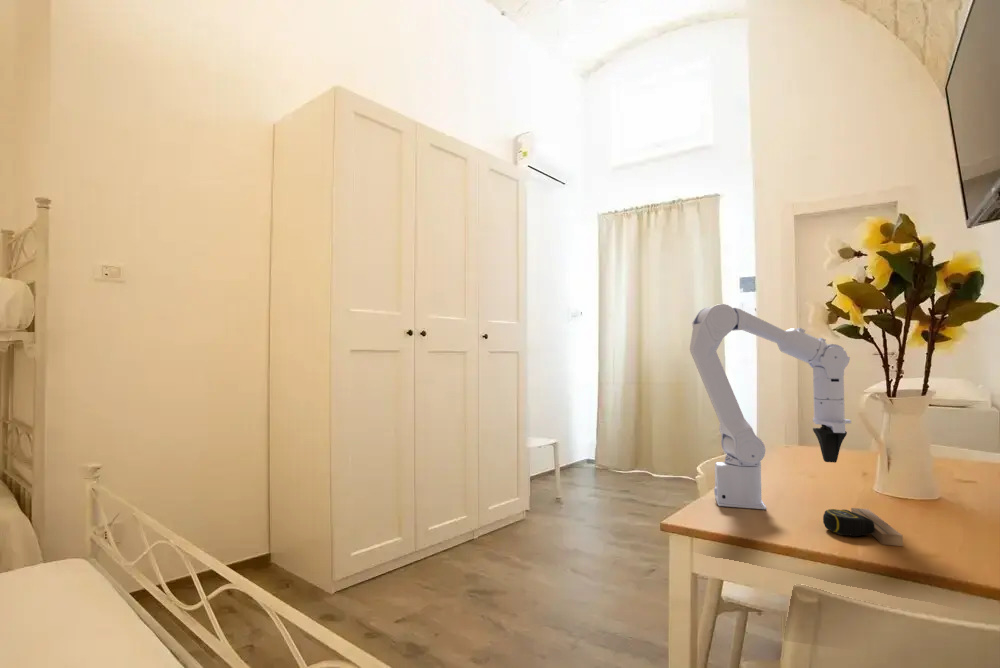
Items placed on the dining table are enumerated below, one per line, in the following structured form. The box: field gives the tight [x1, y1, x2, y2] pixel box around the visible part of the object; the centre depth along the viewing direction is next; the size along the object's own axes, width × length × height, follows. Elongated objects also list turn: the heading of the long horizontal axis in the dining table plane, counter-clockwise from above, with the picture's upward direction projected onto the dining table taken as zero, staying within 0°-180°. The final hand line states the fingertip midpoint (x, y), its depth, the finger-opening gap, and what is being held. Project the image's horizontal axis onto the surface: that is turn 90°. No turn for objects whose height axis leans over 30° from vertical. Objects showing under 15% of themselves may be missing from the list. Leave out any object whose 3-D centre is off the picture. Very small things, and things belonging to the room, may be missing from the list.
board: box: [850, 507, 904, 547], centre depth 100 cm, size 3×16×2 cm, turn 163°
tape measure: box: [822, 508, 874, 537], centre depth 99 cm, size 7×7×4 cm
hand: (830, 461), depth 116 cm, fingers closed
